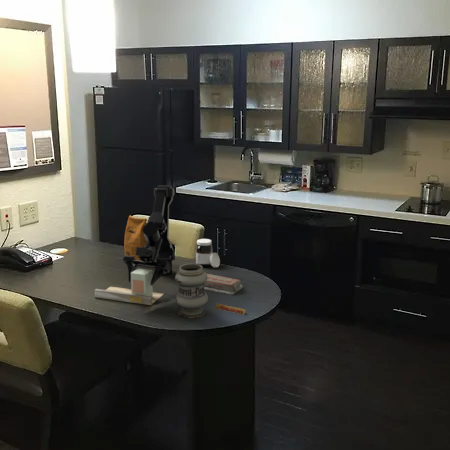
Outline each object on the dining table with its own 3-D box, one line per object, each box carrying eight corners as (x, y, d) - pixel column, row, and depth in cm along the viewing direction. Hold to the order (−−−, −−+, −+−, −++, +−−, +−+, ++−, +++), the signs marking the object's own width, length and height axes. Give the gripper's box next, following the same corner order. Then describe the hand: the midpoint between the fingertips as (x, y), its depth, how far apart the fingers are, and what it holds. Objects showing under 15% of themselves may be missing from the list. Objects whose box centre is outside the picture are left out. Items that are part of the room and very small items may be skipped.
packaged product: (243, 277, 220) (232, 285, 211) (243, 288, 221) (232, 296, 213) (205, 270, 228) (194, 277, 219) (205, 281, 229) (194, 288, 221)
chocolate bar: (243, 316, 194) (243, 310, 193) (214, 310, 199) (214, 304, 199) (246, 313, 196) (246, 308, 196) (218, 307, 202) (218, 302, 201)
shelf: (110, 289, 217) (110, 279, 216) (164, 297, 210) (163, 286, 209) (94, 300, 206) (94, 290, 205) (150, 309, 199) (150, 297, 197)
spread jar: (197, 260, 254) (196, 237, 252) (220, 261, 254) (220, 238, 251) (194, 269, 243) (194, 244, 240) (219, 269, 243) (219, 245, 240)
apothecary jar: (168, 314, 194) (167, 268, 189) (187, 303, 204) (187, 259, 199) (195, 322, 188) (195, 274, 183) (214, 310, 198) (214, 265, 193)
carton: (139, 294, 209) (138, 268, 206) (152, 296, 207) (152, 269, 204) (131, 300, 203) (130, 273, 200) (145, 302, 201) (144, 275, 198)
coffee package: (136, 256, 261) (135, 213, 255) (154, 261, 253) (153, 217, 248) (121, 261, 253) (119, 216, 247) (139, 266, 246) (137, 220, 240)
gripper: (123, 235, 205) (110, 271, 198) (167, 240, 200) (155, 277, 192) (133, 249, 215) (121, 284, 207) (175, 254, 209) (165, 289, 202)
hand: (140, 283), depth 202 cm, fingers open, 9 cm apart
